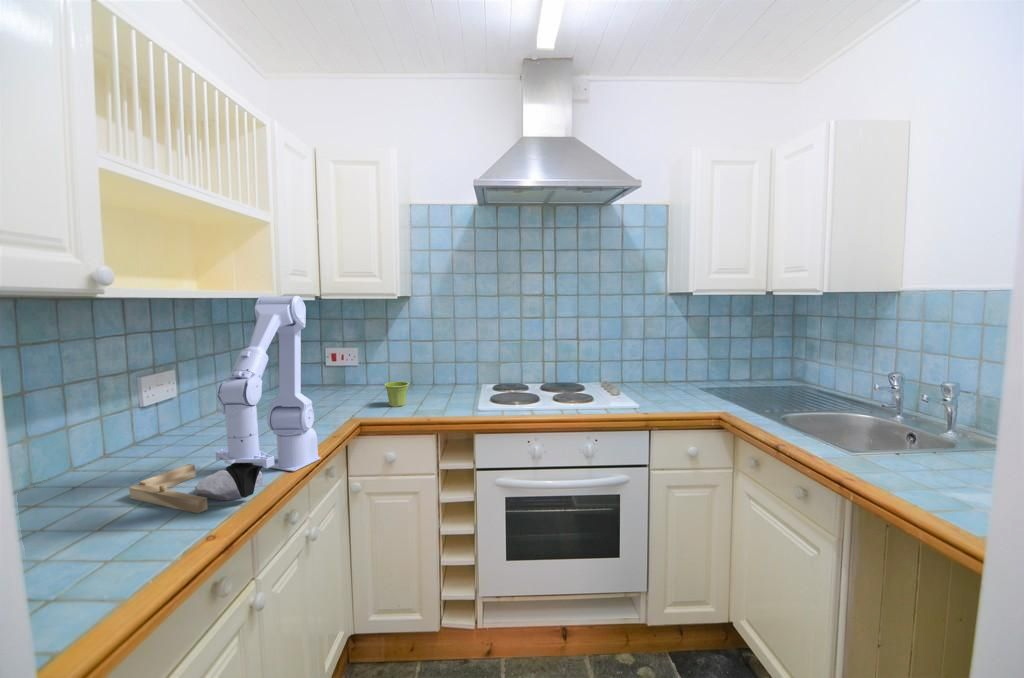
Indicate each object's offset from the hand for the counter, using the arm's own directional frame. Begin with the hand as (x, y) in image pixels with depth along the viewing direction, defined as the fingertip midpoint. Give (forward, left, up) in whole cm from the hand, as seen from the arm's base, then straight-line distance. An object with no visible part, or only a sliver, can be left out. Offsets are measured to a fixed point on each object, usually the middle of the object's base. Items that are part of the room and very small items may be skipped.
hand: (247, 495), depth 97 cm
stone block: (-2, -8, -2) cm, 9 cm away
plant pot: (-82, -17, -2) cm, 83 cm away
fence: (+1, -15, -1) cm, 15 cm away
